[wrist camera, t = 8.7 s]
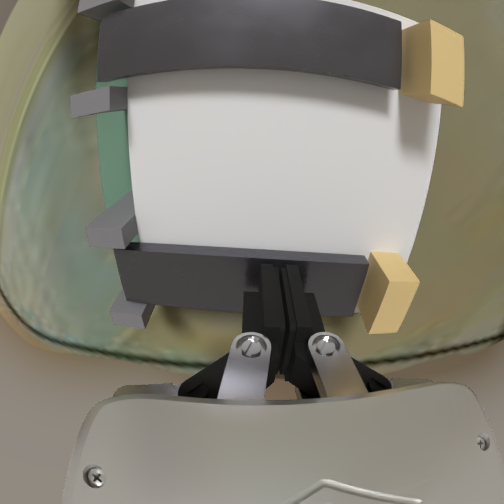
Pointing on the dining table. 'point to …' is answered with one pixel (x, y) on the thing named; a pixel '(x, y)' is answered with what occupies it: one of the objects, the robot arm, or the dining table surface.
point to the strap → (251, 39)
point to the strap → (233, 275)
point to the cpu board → (275, 161)
